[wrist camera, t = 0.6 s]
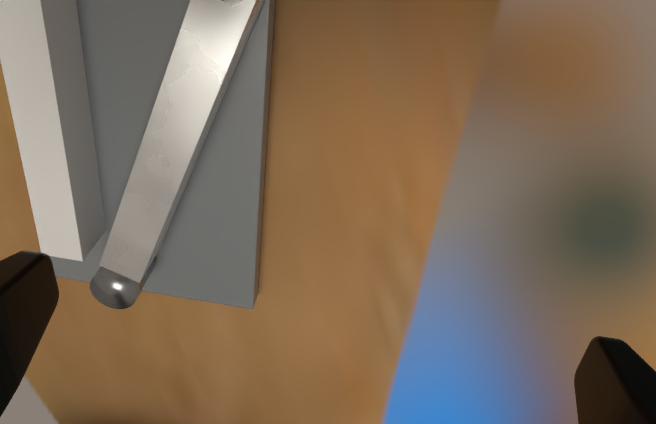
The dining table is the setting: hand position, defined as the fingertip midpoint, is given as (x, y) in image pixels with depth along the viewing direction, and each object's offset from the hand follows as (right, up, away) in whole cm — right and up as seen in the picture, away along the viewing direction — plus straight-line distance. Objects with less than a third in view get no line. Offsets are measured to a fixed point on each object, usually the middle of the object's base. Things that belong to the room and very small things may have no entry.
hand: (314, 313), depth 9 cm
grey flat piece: (-6, +5, +12) cm, 15 cm away
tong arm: (-5, +4, +11) cm, 13 cm away
